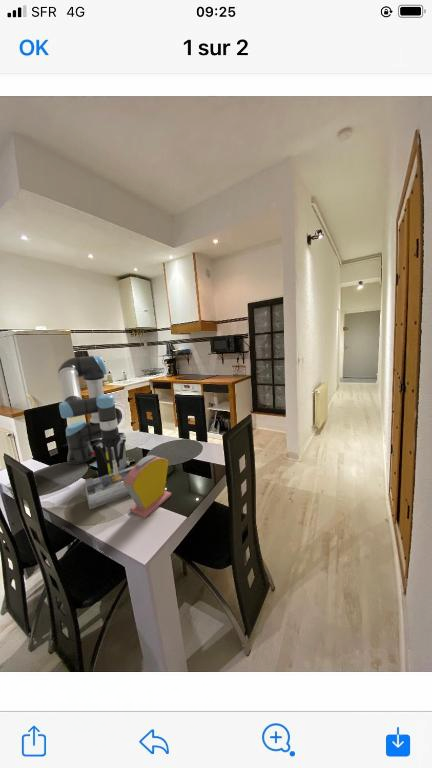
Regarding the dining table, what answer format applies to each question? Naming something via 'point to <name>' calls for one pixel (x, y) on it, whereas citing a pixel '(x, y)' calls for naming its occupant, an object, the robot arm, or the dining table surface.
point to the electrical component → (101, 464)
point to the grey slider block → (92, 484)
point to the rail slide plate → (107, 490)
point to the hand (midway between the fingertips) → (115, 474)
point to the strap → (114, 480)
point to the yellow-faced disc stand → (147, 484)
